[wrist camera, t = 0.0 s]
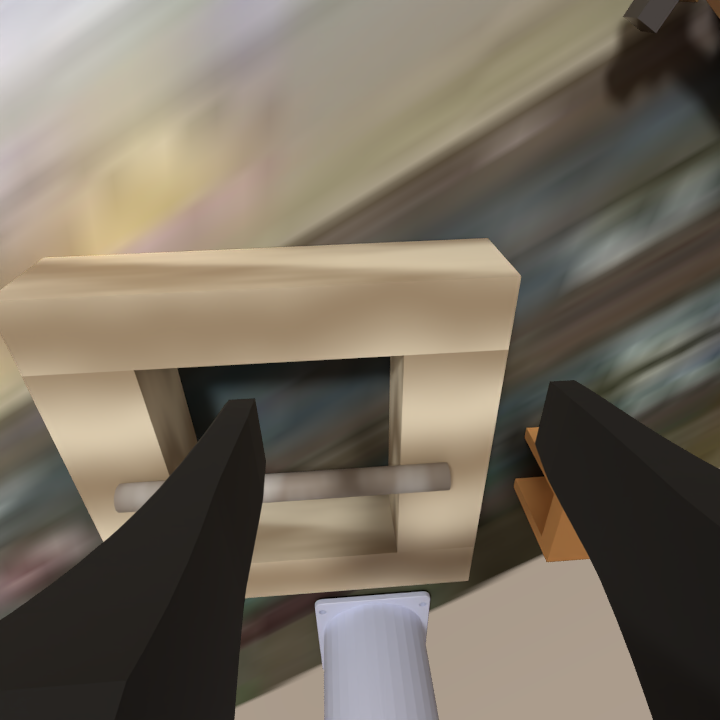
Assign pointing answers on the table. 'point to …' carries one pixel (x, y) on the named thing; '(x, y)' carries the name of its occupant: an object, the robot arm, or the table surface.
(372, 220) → the table surface
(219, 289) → the rectangular frame
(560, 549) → the bracket
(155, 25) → the table surface
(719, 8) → the character figurine
